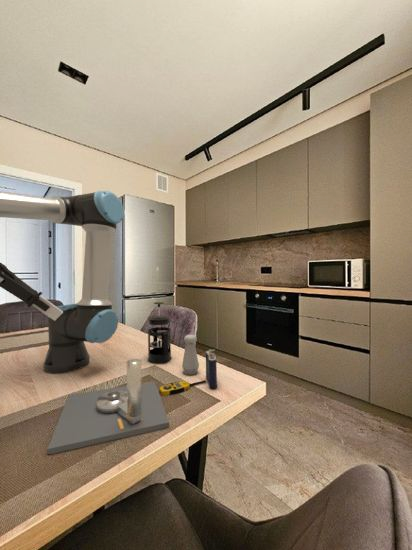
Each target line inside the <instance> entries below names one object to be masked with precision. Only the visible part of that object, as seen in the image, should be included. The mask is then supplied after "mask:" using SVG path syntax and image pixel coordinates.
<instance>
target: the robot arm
mask: <svg viewBox="0 0 412 550" xmlns="http://www.w3.org/2000/svg"><path fill="white" fill-rule="evenodd" d="M124 215H125V210H124V206H123V203H122V202H121V200H120V198H119V197H118V196H117V195H116V194H115V193H114V192H111V191H109V190H103V191H102V190H97V191H94V192H89V193H83V194H76V195H70V196H58V195H57V196H56V195H55V196H54V195H53V196H51V197H44V196H36V195H30V194H22V193H15V192H8V191H1V190H0V218H8V219H9V218H10V219H24V220H38V221H39V220H41V221H51V222H52V223H53V224H61V225H68V226H69V225H70V226H77V227H81V228H82V229H83V230H84V231H85V239H84V241H85V245H84V255H83V256H84V257H83V258H84V259H83V260H84V261H83V273H82V274H83V276H82V288H81V289H82V291H81V292H82V293H81V299H80V300H79V301H78V302H77V303H71V304H70V303H69V304H63V305H57V306H56V305H54V303H52V302H50V301H49V300H48V299H46V297H43V296H42V294H43V292H42V291H39V292H38V291H37V290H35V289H34V288H33V287H31V285H29V284H27V283H26V282H25V281H24V280H22V279H21V278H20V277H18V276H17V274H15V273H14V272H12V271H11V270H10V269H8V267H7V265H5V264H3V263H2V262H0V288H2V289H3V290H5V291H7V292H8V293H9V294H11V295H13V296H14V297H16V298H17V299H19V300H21V301H22V302H24V303H25V304H27V305H26V306H27V308H30V307H31V306H32V307H33V308H36V309H37V310H38V311H40V312H41V313H42V314H44V315H45V316H47V323H48V324H47V325H48V328H47V329H48V330H47V331H48V349H47V353H46V354H45V355H46V356H45V359H44V361H43V371H44V372H45V371H46V372H45V373H48V372H50V374H63V373H69V372H73V371H77V370H79V369H82V368H84V367H86V366H87V365H89V363H90V354H89V351H88V349H87V347H86V344H85V342H87V343H91V344H101V343H105V342H107V341H109V340H110V339H111V338H112V337H113V336H114V335H115V333H116V331H117V329H118V326H119V316H118V315H117V313H116V311H114V310H113V309H112V308H113V304H112V302H111V301H110V300H109V286H110V269H111V267H110V266H111V250H112V235H113V234H115V233H116V232H117V224H119V223H121V222H122V221H123V219H124Z"/></svg>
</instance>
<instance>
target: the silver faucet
mask: <svg viewBox="0 0 412 550" xmlns="http://www.w3.org/2000/svg"><path fill="white" fill-rule="evenodd" d="M142 383H143V382H142V360H141V359H140V358H139V359H138V358H133V359H132V358H131V359H128V360H127V361H126V386H127V391H123V390H116V391H110V392H107V393H105V394H103V395H101V396H100V397H99V398H98V399H97V410H98V411H99V412H102V413H114V412H118V413H119V414H120V415H121V416H123V417H124V418H125V419H127V420H128V421H129V422H130V423H132V424H134V423H136V422H138V421H139V420H141V419H142Z"/></svg>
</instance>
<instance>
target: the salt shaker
mask: <svg viewBox="0 0 412 550" xmlns="http://www.w3.org/2000/svg"><path fill="white" fill-rule="evenodd" d="M183 341H184V343H185V347H184V352H183V359H182V369H183V372H184V373H185V374H186V375H191V376H192V375H195V374H197V372H198V369H199V367H200V363H199V358H198V354H197V348H196V344H195V343H196V342H197V336H196V335H195V334H187V335H185V336H184V338H183Z"/></svg>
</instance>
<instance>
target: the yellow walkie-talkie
mask: <svg viewBox="0 0 412 550" xmlns="http://www.w3.org/2000/svg"><path fill="white" fill-rule="evenodd" d="M206 382H207V380H206V379H205V380H201V381H196V382H193V383H189V381H175V382H174V381H173V382H170V383H167V384H165V385H162V386H160V387H159V388H158V391H159V394H160V396H164V397H165V396H173V395H177V394H178V395H179V394H181V393H185V392H186V391H188V390H190V387H191V386H194V385H199V384H200V385H201V384H203V383H206Z"/></svg>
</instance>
